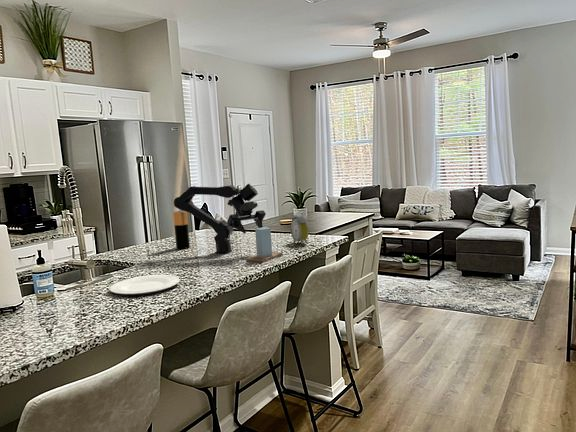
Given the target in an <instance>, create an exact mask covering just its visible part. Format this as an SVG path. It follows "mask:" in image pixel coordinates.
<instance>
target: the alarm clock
mask: <svg viewBox="0 0 576 432" xmlns="http://www.w3.org/2000/svg"><path fill="white" fill-rule="evenodd" d="M289 228H290V233H291V237H292V239H293V243H295V242H300V244H301V246H303V245H304V242H305V243H308V241H307V239H308V238H309V231H310V230H309V225H308V222H307V218H306V216H305V215H303V214H301V215H300V214H298V213H297V214H296V213H295V214H293V215H292V216H291V223H290V227H289Z"/></svg>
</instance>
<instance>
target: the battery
mask: <svg viewBox="0 0 576 432" xmlns="http://www.w3.org/2000/svg"><path fill="white" fill-rule="evenodd" d="M172 214H173V215H172V216H173V226H174V236H175V248H176V249H177V250H182V249H183V250H184V249H189V248H191V245H190V244H191V243H190V233H189V232H190V231H189V219H188V212H186V211H183V210H177V211H173V212H172Z"/></svg>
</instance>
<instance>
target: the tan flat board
mask: <svg viewBox="0 0 576 432" xmlns="http://www.w3.org/2000/svg"><path fill="white" fill-rule="evenodd" d="M282 256H283V252H279V251H277V252H276V251H272V256H267V257H259V256H257V254H256V255H252V256H250V257H247V258H246V259H245V261H246V262H249V263H259V264H264V263H267V262H269V261H272V260H274V259H277V258H279V257H282Z"/></svg>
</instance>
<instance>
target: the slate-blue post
mask: <svg viewBox="0 0 576 432" xmlns="http://www.w3.org/2000/svg"><path fill="white" fill-rule="evenodd" d="M271 230H272V229H271V227H266V226H265V227H264V226H263V228H259V227H257V228H255V229H254V231H255V245H256V255H257V256H259V257H267V256H272V252H273V245H272V231H271Z"/></svg>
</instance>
